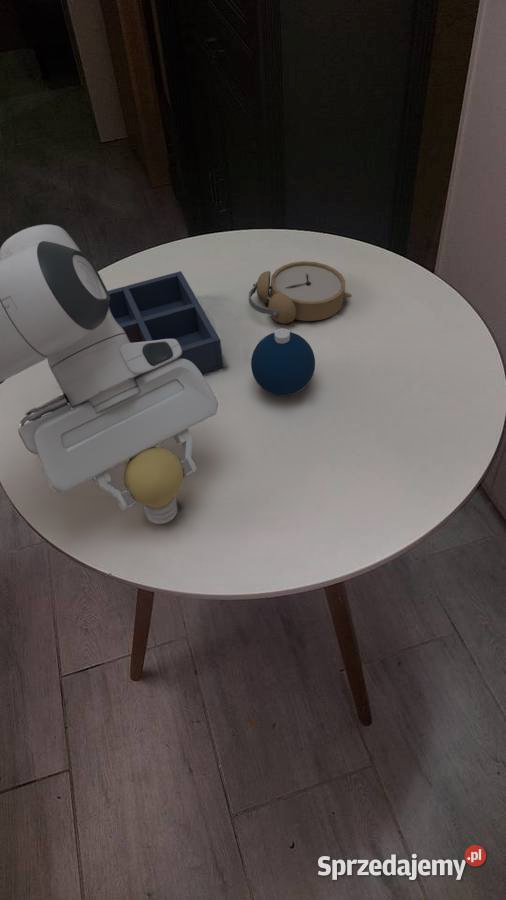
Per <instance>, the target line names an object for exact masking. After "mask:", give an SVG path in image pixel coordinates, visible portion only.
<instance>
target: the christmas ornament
mask: <svg viewBox="0 0 506 900" xmlns="http://www.w3.org/2000/svg"><path fill="white" fill-rule="evenodd" d="M250 368H251V373H252V376H253V378H254V380H255V382H256V383H257V385H259V387H260V388H261V389H262V390H264V391H266V392H267V393H269V394H272V395H274V396H282V397H286V396H291V395H294V394H297V393H299V392H301V391H302V390H303V389H305V388H306V387H307V386H308V384H309V383H310V381H311V380H312V378H313V376H314V373H315V368H316V358H315V353H314V351H313V348H312V346H311V345H310V343H309V342H308V341H307V340H306V339H305V338H303V337H302V336H301V335H300V334H298V333H295V332H291V331H290V330H289V329H287V328H283V327H281V328H277V329H275V331H274V332H271V333H269V334H267V335H266V336H264V337H263V338H262V339H261V340H259V341H258V343H257V344H256V345H255V347H254V348H253V351H252V355H251V359H250Z"/></svg>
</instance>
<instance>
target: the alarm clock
mask: <svg viewBox="0 0 506 900" xmlns="http://www.w3.org/2000/svg"><path fill="white" fill-rule="evenodd" d="M345 290H346V280H345V278H344V276H343V275H342V273H340V272H339V271H338V270H337V269H336V268H334V267H331V266H330V265H328V264H324V263H320V262H316V261H306V260H305V261H303V260H302V261H295V262H290V263H287V264H284V265H282V266H280V267H278V268H277V269H276V270H275V271H274V272H273V274H272V275H271V271H270V270H267V271H263V272H262V273H261V274H260V275H259V277H258V278H257V281H256V282H255V283H253V284H252V288H251V289H250V290H249V293H248V304H249V305H250V307H251V308H252V309H253V310H254V311H256V312H258V313H261V314H265V315H269V316H271V318H272V319H273V320H274V321H276V322H277V323H280V324H283V325H284V324H287V325H288V324H290V323H292V322H293V321H294V320H298V321H306V322H313V321H321V320H326V319H328V318H331V317H333V316H335V314H337V313H338V312H340V310H341V309H342V307H343V305H344V298H352V296H353V294H352V293H349V292H345ZM255 293H256V294H257V297H258V299H259V301H261V302H263V303H265V304H268V307H264V306H262V305H259V304H257V303H256V301H254V300H253V298H252V296H253V295H254V294H255Z"/></svg>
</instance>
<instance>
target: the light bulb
mask: <svg viewBox="0 0 506 900" xmlns="http://www.w3.org/2000/svg"><path fill="white" fill-rule="evenodd" d="M179 460H180V459H179V458H178V457H177V456H176V454H175V453H173V452H171V451H170V450H168V449H166V448H163V447H158V446H154V447H152V448H150V449H148V450H146V451H144V452H142V453H140V454H138V455H136V456H134V457H133V458H131V459H129V460H127V461H126V462H127V463H126V464H125V467H124V470H123V482H124V486H125V488H126V489H127V490H129V491H130V493H131V494H132V496H131V497H132V498H134V500H135V501H137V502H138V503H140V504H142V506H143V509H144V514H145V517H146V518H147V520H148V521H149V522H151V523H153V524H155V525H156V524H157V525H162V524H163V525H165V524H167V523H169V522H171V521H172V520H173V519H174V518H175V517H176V516H177V513H178V504H177V499H176V496H177V495H178V493H179V492H180V490H181V488H182V485H183V482H184V481H183V480H184V477H183V470H182V466H181V464H180V461H179Z"/></svg>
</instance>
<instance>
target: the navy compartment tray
mask: <svg viewBox="0 0 506 900" xmlns="http://www.w3.org/2000/svg"><path fill="white" fill-rule="evenodd" d="M107 291H108V293H109V295H110V303H109V308H110V311H111V313H112V315H113V317H114V319H115V320H116V322H117V323H118V324H119V325H120V326H121V327H122V328H123V330H124V331H125V333H126V335H127V337H128V339H129V341H130V343H135V342H145V341H154V340H162V339H175V340H177V341H178V343H179V345H180V347H181V349H182V354H181V355H180V356H179V357H178V358H177V359H187V360H189V361H191V362H192V363H193V364H194V365H195V366H196V367H197V368H198V369H199V371H200V372H201V374H202V375H203V374H206V373H210V372H213V371H216V370H220V369H223V368H224V361H223V353H222V343H221V338H220V337H219V335H218V333H217V331H216V329H215V328H214V326H213V325H212V323H211V320H210V319H209V317H208V316H207V313H206V312H205V310H204V308H203V307H202V305H201V303H200V302H199V300H198V298H197V296H196V295H195V293H194V291H193V289H192V288H191V286H190V284H189V283H188V281H187V279H186V277H185V276H184V274H183V272H182V271H181V270H180V271H175V272H172V273H169V274H166V275H162V276H158V277H154V278H150V279H147V280H143V281H139V282H136V283H132V284H128V285H124V286H121V287H118V288H113V289H110V290H107Z"/></svg>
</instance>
